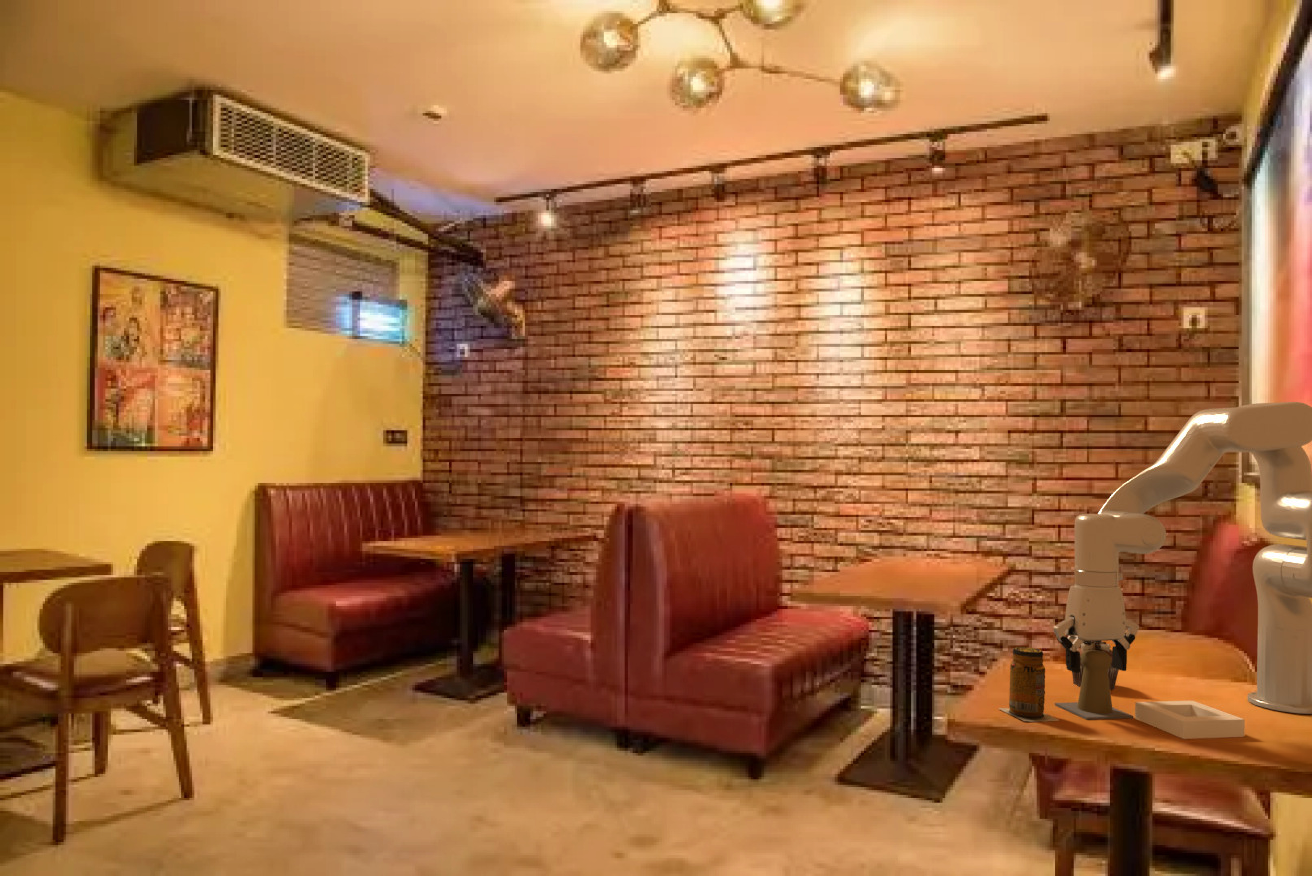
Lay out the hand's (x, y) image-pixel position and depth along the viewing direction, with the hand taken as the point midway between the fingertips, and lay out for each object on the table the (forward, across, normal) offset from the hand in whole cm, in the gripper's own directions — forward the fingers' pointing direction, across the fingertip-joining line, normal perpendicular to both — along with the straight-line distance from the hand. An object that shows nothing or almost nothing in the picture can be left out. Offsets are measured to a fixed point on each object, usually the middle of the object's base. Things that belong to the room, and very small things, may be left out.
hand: (1096, 670), depth 174 cm
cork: (+7, 0, 0) cm, 8 cm away
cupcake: (+8, -12, -18) cm, 23 cm away
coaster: (+8, +1, 0) cm, 8 cm away
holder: (+8, -10, +11) cm, 17 cm away
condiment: (+8, +15, +1) cm, 17 cm away
